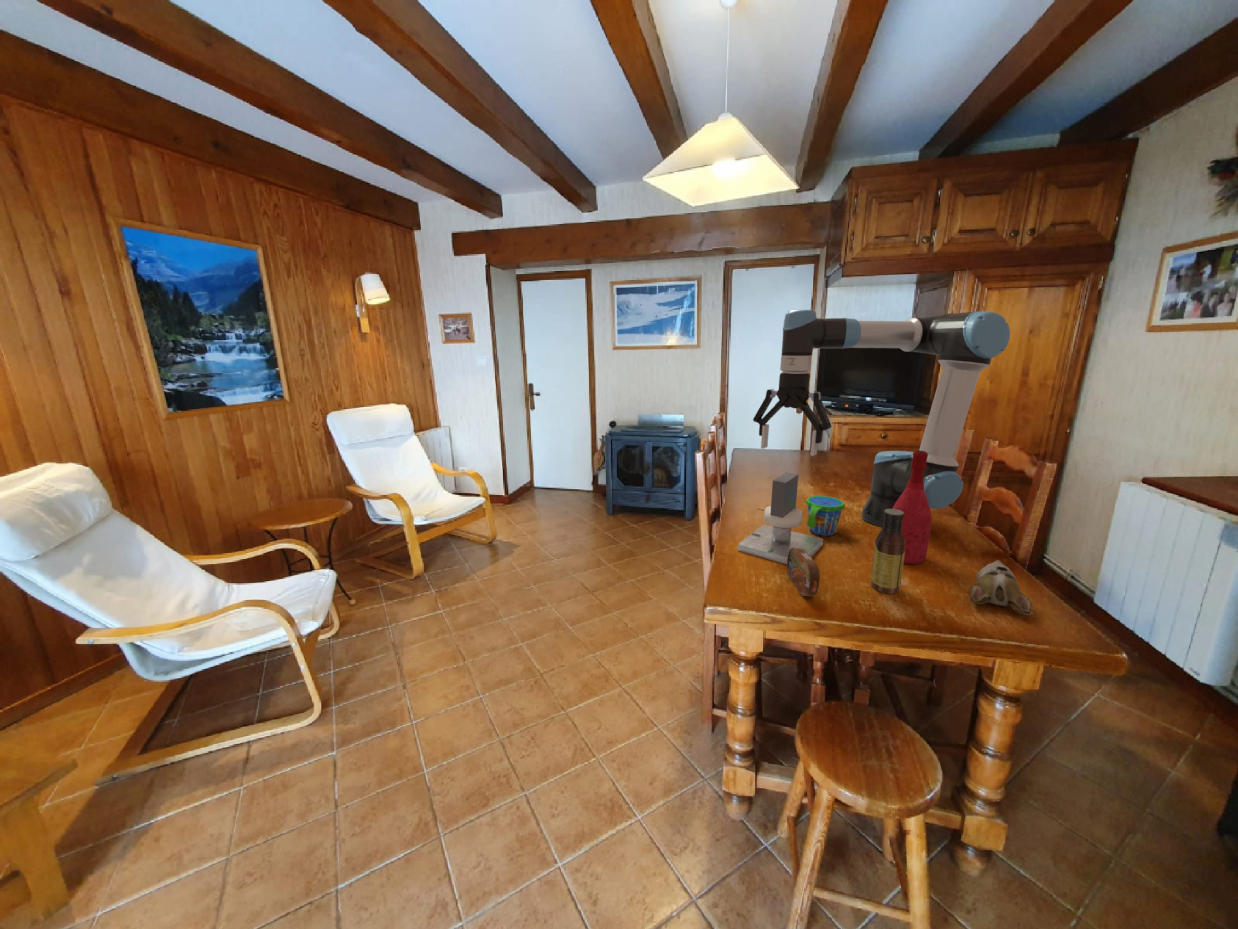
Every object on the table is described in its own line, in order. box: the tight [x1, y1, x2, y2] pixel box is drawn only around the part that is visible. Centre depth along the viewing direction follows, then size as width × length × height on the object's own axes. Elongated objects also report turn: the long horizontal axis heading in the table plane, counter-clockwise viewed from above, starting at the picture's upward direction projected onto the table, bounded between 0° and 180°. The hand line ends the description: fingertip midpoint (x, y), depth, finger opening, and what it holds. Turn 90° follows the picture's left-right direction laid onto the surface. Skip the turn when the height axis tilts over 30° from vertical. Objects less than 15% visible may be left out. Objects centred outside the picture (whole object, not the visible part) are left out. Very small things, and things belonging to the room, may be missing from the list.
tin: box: [786, 548, 821, 597], centre depth 113 cm, size 15×3×8 cm, turn 178°
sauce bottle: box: [870, 509, 906, 594], centre depth 110 cm, size 7×6×20 cm
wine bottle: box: [892, 450, 933, 565], centre depth 123 cm, size 10×10×30 cm
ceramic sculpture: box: [969, 559, 1032, 616], centre depth 105 cm, size 11×9×15 cm
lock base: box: [737, 524, 824, 565], centre depth 134 cm, size 18×18×8 cm
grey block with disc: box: [756, 471, 803, 529], centre depth 131 cm, size 12×10×13 cm
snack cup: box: [805, 495, 846, 537], centre depth 144 cm, size 16×10×10 cm
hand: (788, 451), depth 127 cm, fingers open, 13 cm apart
